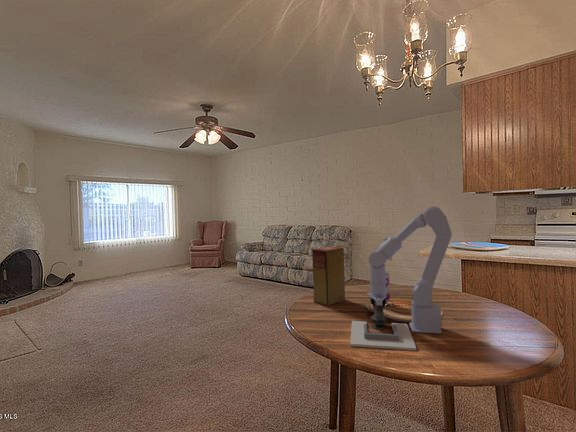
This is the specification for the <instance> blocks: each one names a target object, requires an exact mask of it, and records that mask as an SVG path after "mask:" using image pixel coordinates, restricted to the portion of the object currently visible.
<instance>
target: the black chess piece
mask: <svg viewBox="0 0 576 432" xmlns="http://www.w3.org/2000/svg"><path fill="white" fill-rule="evenodd" d="M376 298H380V297H379V295H378V297H376ZM374 308H375V313H374V314H373V315H371V316H370V319H371V321H372V323H373V324H372V325H371V328H372V329H374V330H377V331H384V330H387V327H388V326H386V325H385V324H386V323H387V320H388V317H387V316H386V315H384V309H385V307H383V301H382V305H376V300H375V306H374ZM374 308H373V309H374Z"/></svg>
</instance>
